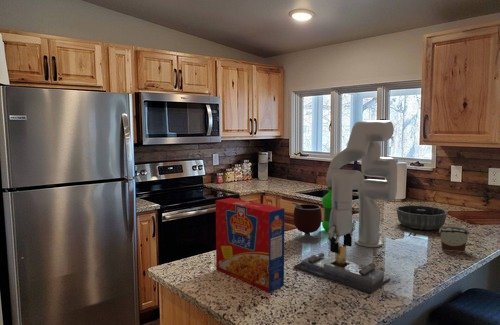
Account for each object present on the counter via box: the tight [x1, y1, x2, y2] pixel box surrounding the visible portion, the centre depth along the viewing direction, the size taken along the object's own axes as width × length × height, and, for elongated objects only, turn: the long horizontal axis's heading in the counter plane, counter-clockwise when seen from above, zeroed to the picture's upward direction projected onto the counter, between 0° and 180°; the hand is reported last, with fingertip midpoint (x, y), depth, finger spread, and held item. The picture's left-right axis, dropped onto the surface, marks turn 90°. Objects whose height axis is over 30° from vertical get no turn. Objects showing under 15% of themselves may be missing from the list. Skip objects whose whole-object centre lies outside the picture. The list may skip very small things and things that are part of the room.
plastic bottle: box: [321, 185, 332, 233], centre depth 189 cm, size 10×10×25 cm
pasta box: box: [215, 197, 285, 294], centre depth 130 cm, size 28×8×28 cm, turn 45°
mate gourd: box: [291, 201, 323, 245], centre depth 175 cm, size 16×14×20 cm
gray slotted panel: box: [293, 252, 391, 295], centre depth 134 cm, size 16×32×6 cm, turn 45°
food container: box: [438, 225, 470, 253], centre depth 162 cm, size 12×6×10 cm, turn 74°
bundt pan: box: [395, 204, 448, 231], centre depth 200 cm, size 26×26×10 cm
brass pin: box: [334, 243, 347, 268], centre depth 133 cm, size 4×4×10 cm
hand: (341, 248), depth 133 cm, fingers open, 9 cm apart
